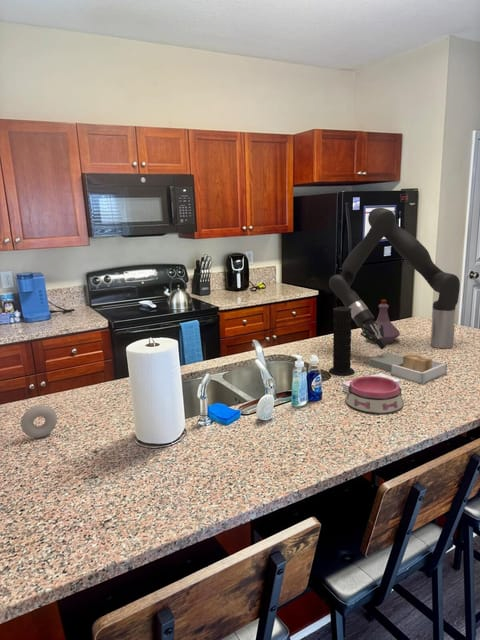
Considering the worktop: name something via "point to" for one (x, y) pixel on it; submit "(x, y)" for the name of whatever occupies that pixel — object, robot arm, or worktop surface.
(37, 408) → the donut
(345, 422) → the worktop surface
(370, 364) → the grey square slab
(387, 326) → the flask
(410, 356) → the oak block
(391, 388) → the dog bowl
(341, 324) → the handle grip
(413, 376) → the tray
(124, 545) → the worktop surface
